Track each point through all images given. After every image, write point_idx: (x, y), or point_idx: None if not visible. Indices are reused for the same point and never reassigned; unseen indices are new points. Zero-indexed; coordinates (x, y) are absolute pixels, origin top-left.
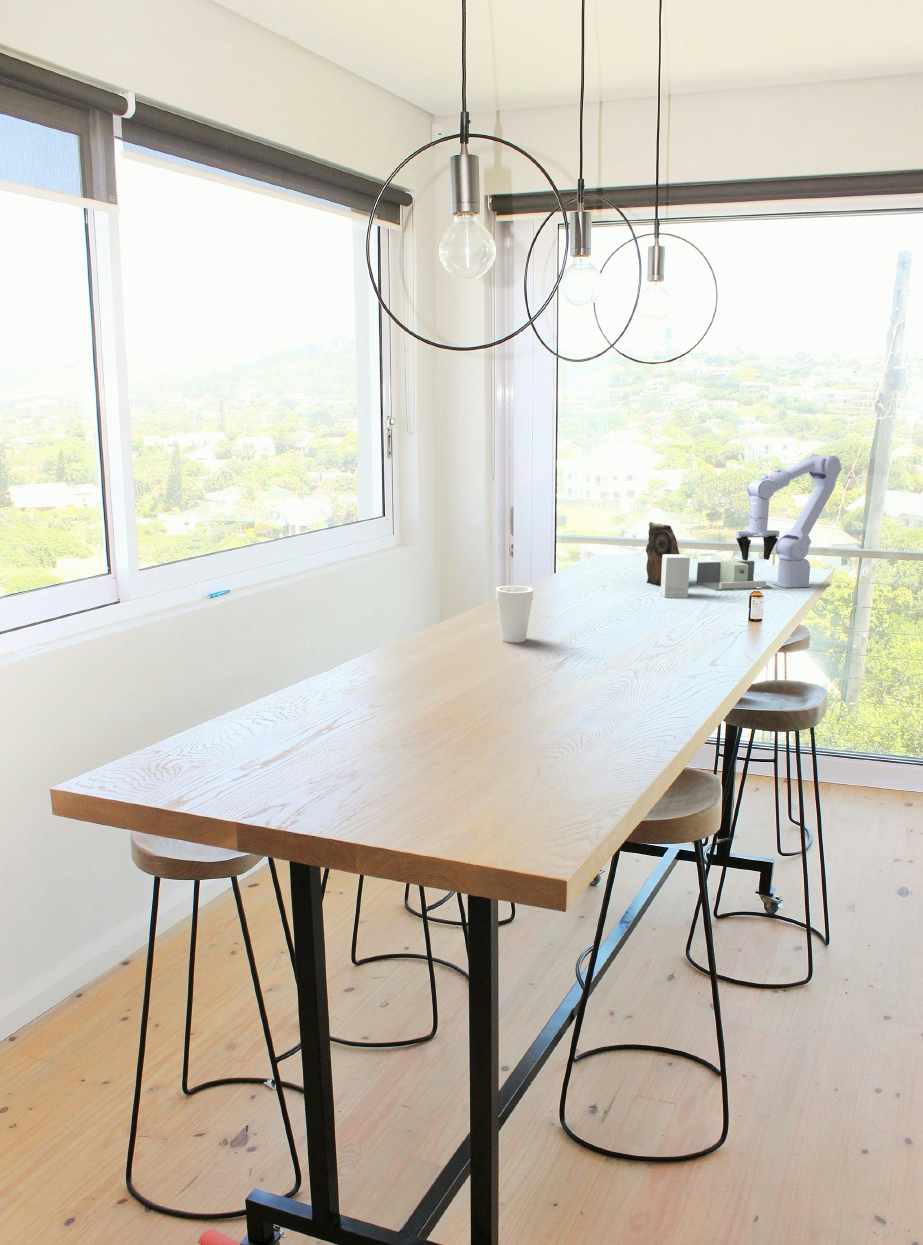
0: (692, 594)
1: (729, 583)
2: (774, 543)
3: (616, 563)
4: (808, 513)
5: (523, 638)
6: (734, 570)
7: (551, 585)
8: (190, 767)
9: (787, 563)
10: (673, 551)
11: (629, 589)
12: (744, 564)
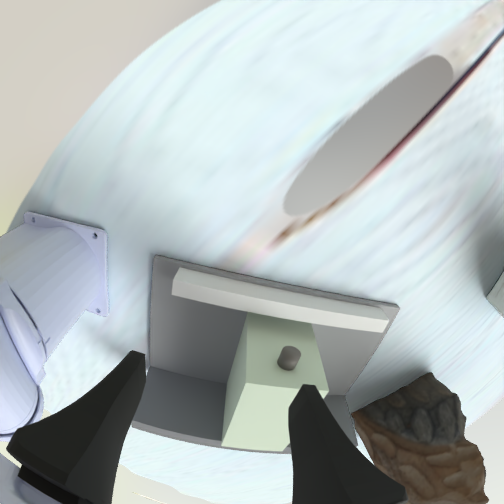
0: (480, 281)
1: (358, 314)
2: (51, 428)
3: (290, 495)
4: None
5: None
6: (322, 371)
7: (499, 397)
8: None
9: (33, 296)
10: (456, 452)
11: (488, 364)
12: (256, 395)
